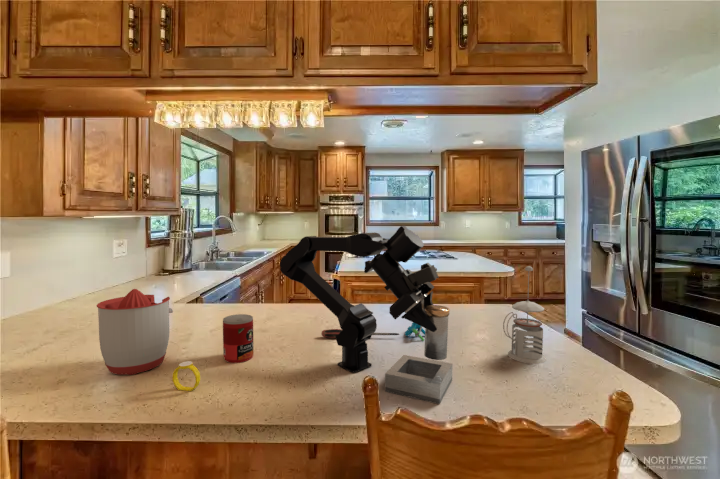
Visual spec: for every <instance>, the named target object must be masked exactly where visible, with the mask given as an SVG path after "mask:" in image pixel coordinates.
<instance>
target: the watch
mask: <svg viewBox="0 0 720 479" xmlns="http://www.w3.org/2000/svg"><path fill="white" fill-rule="evenodd" d="M193 362H194V361H190V360H189V361H187V360H186V361H183V362H180V363H179V364H178V366H177V367H176V368H175V369H174V370H173V372H172V374H171V375H172V382H173V385H174V387H175V388H176V389H177V390H178V391H184V392H192V391H194V390H195V389H196V388H198V386H200V382H201V372H200V370H199V369H198V368H197V367H196V366H195V365H194V363H193ZM186 369H187V370H188V369H189V370H190V371H192V373H193V375H194V377H195V378H194V379H195V383H194V385H193V387H192V386H184V385H182V383H180V380H179V378H178V376H179V375H178V374H179V371H180V370H186Z"/></svg>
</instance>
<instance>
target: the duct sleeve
mask: <svg viewBox="0 0 720 479" xmlns="http://www.w3.org/2000/svg"><path fill="white" fill-rule="evenodd" d="M425 311H426V312H427V314H428V315H429V317H430V318H431V320H432V321H433V323H434V324H435V326H436V328H437V330H436V331H435V332H432V331H430V330H428V329H426V328H424V330H425V335H424V350H423V351H424V353H423V354H424V358H426V359H430V360H435V361H442V360H446V359H447V357H448V356H447V355H448V336H449V333H448V332H449V316H450V311H451V310H450V308H449V307H447V306H444V305H438V304H436V305H435V304H433V305H429V306H426V307H425Z"/></svg>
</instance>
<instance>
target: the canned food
mask: <svg viewBox="0 0 720 479" xmlns="http://www.w3.org/2000/svg"><path fill="white" fill-rule="evenodd" d="M222 345H223V346H222V349H223V359H224V361H225V362H227V363H230V364H240V363H245V362H248V361H250V360H251V359H252V358H253V357H254V316H252V315H250V314H246V313H245V314H243V313H237V314H232V315H230V314H229V315H227V316H225V317H223V318H222Z"/></svg>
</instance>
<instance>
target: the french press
mask: <svg viewBox="0 0 720 479" xmlns="http://www.w3.org/2000/svg"><path fill="white" fill-rule="evenodd" d="M533 270H534V268H533V267H532V266H530V265H528V266H526V267H524V271H527V272H528V275H527V276H528V277H527V280H528V281H527V297H529V292H530V291H529V290H530V289H529V288H530V272H533ZM511 308H512V309H513V310H516V311H519V312H525V313H526V314H527V315H526V318H525V317H518V314H517V313H514V312H513V311H512V312H509V313H507V315H506V316H505V318H504V320H503V323H502V328H503V332H504V334H505V336H506V337H508V338H509V339H511V349H510V350H509V351H507V354H506V355H507V356H508V357H509V358H510V359H513V361H514V360H515V361H516V362H520V363H523V364H524V363H525V364H531V365H533V364H537V365H538V364H543V363H546V362H547V358H546V356H544V354H543V346H544V345H543V343H544V340H543V339H544V328H543V323H542V322H541V321H540V320H536V319H532V318H529V313H541V312H544V311H545V307H543V306H542V305H541V304H538V303H536V302H535V301H530V300H525V301H524V300H523V301H517V302H515V303H514V304H512V305H511ZM511 314H512V315H511ZM509 315H510V317H508V316H509ZM512 317H513V318H514V319H513V321H512V322H513V324H512V325H511V336H510V333H509V331H508V329H509V328H508V327H509V322H510V320H511V319H512ZM507 318H508V320H507V323H506V319H507ZM505 323H506V330H505ZM518 328H519V329H518ZM531 346H532V347H531Z"/></svg>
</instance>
